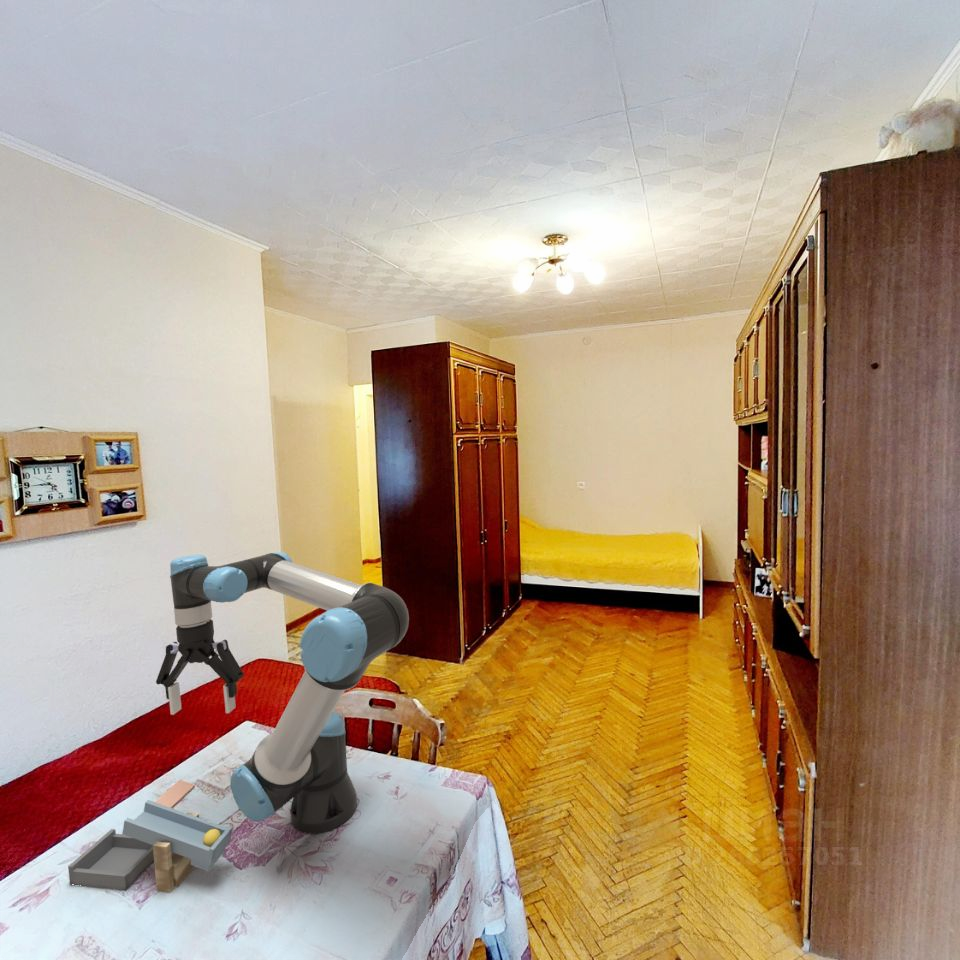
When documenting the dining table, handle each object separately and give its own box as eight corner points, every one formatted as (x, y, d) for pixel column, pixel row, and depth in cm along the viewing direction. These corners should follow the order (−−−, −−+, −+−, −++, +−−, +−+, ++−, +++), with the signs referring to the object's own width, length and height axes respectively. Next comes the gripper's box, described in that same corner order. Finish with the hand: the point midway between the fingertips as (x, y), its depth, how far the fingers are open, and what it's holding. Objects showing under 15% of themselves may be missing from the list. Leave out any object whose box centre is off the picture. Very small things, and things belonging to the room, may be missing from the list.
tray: (164, 850, 109) (163, 833, 109) (126, 890, 99) (124, 871, 99) (113, 846, 111) (111, 829, 111) (70, 885, 101) (68, 866, 101)
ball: (221, 842, 103) (226, 829, 103) (211, 854, 100) (215, 841, 100) (208, 835, 103) (212, 822, 103) (197, 848, 100) (201, 834, 100)
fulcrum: (204, 856, 107) (200, 813, 107) (172, 892, 98) (168, 847, 98) (187, 854, 108) (184, 812, 107) (154, 891, 99) (150, 845, 99)
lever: (255, 816, 114) (259, 795, 113) (207, 875, 98) (212, 851, 98) (178, 790, 117) (181, 769, 116) (119, 843, 101) (123, 819, 101)
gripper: (254, 614, 119) (262, 701, 120) (156, 619, 121) (165, 704, 122) (236, 625, 111) (244, 718, 112) (132, 630, 114) (141, 720, 115)
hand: (203, 711), depth 117 cm, fingers open, 13 cm apart
